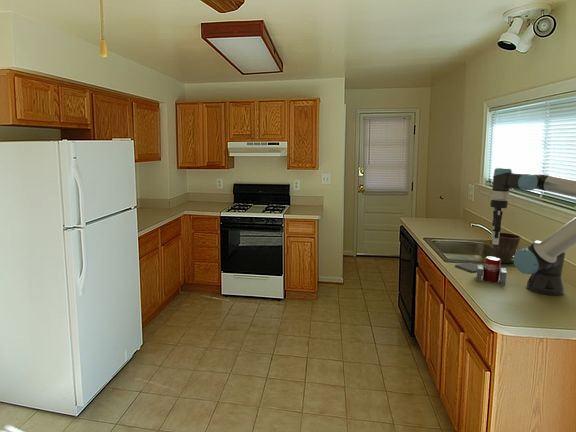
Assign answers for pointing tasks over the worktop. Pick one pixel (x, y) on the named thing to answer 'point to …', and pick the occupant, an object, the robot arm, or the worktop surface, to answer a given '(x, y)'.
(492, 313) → the worktop surface
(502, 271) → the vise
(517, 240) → the plant pot
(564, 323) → the worktop surface
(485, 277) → the soda can
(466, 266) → the rubber mat
